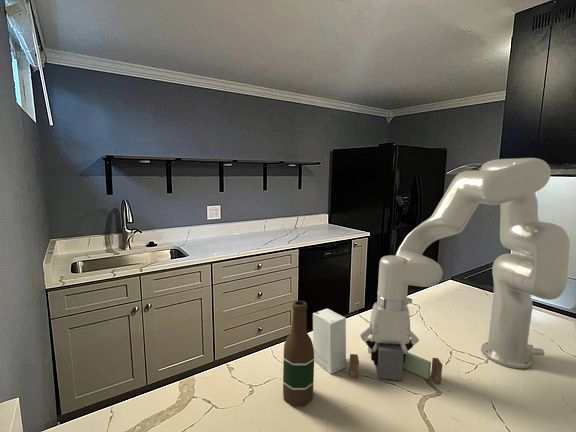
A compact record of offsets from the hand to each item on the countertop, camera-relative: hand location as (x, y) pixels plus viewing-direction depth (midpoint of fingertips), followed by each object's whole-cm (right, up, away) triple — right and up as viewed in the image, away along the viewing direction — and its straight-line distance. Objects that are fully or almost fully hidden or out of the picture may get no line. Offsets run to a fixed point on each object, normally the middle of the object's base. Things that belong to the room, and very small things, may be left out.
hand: (387, 362), depth 86 cm
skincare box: (-16, -2, +3) cm, 16 cm away
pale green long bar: (+1, -3, -3) cm, 4 cm away
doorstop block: (0, -2, -1) cm, 2 cm away
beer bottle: (-25, -3, -10) cm, 28 cm away
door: (+3, -2, +3) cm, 5 cm away
